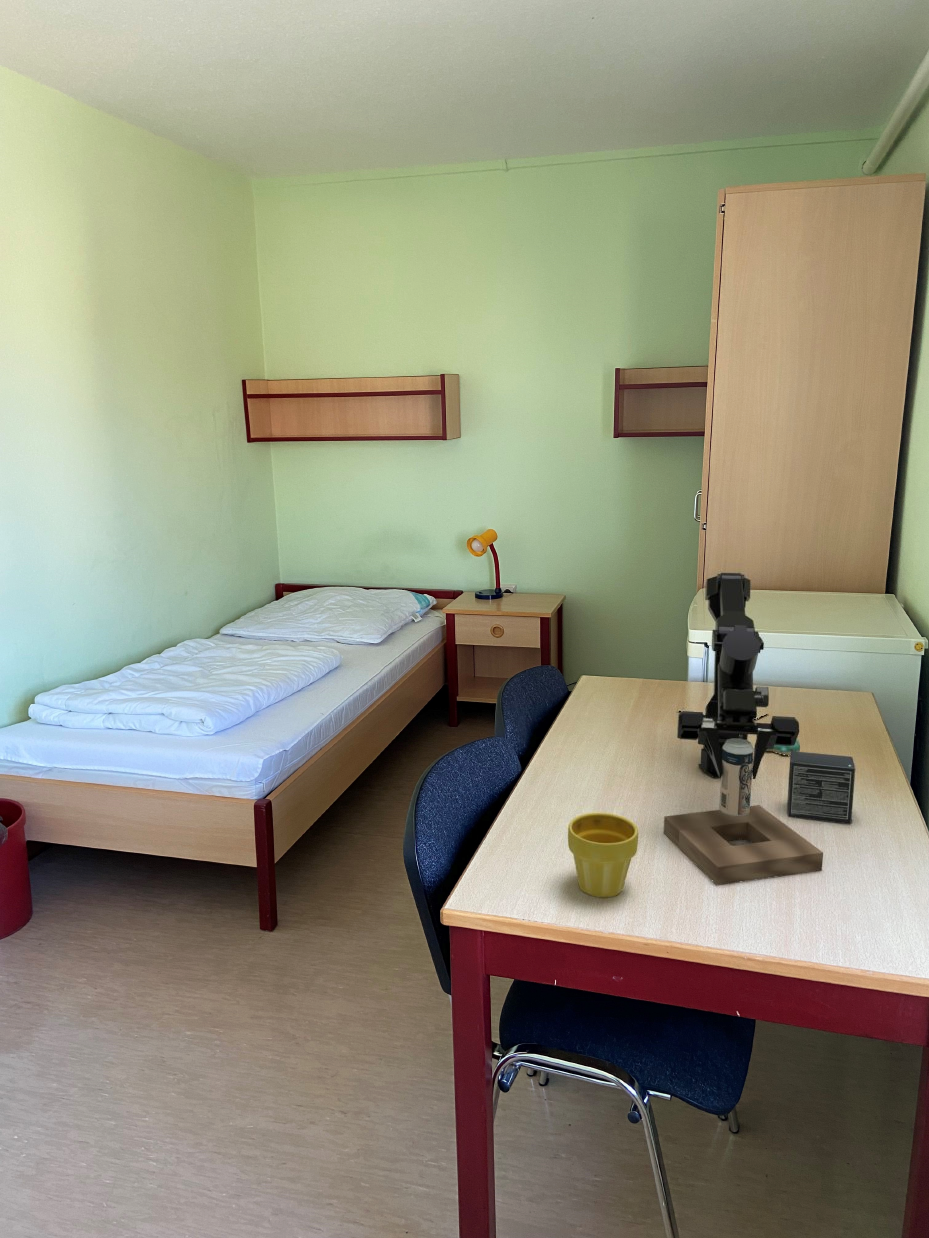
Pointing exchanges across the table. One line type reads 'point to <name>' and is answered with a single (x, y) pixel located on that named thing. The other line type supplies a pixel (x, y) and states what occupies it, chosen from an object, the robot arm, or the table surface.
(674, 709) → the table surface
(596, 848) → the plant pot
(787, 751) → the whale figurine
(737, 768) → the beer can
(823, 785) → the small box
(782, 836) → the holder block
